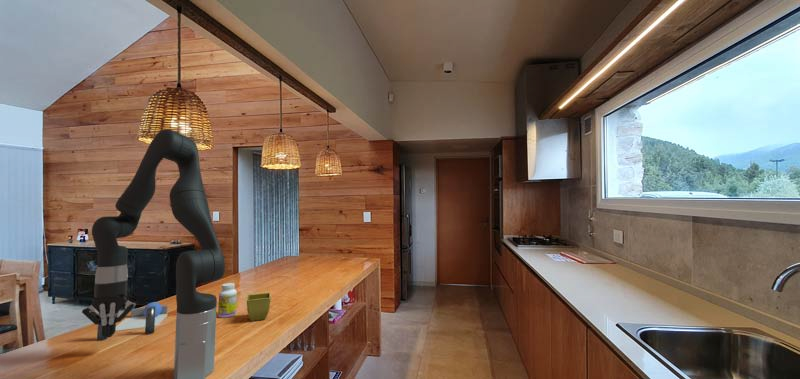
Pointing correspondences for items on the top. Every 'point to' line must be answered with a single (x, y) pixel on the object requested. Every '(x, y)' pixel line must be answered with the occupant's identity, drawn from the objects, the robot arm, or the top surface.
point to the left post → (100, 333)
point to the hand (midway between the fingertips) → (108, 336)
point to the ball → (157, 308)
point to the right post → (150, 320)
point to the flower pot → (258, 306)
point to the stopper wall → (139, 311)
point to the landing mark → (138, 322)
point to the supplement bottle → (227, 301)
